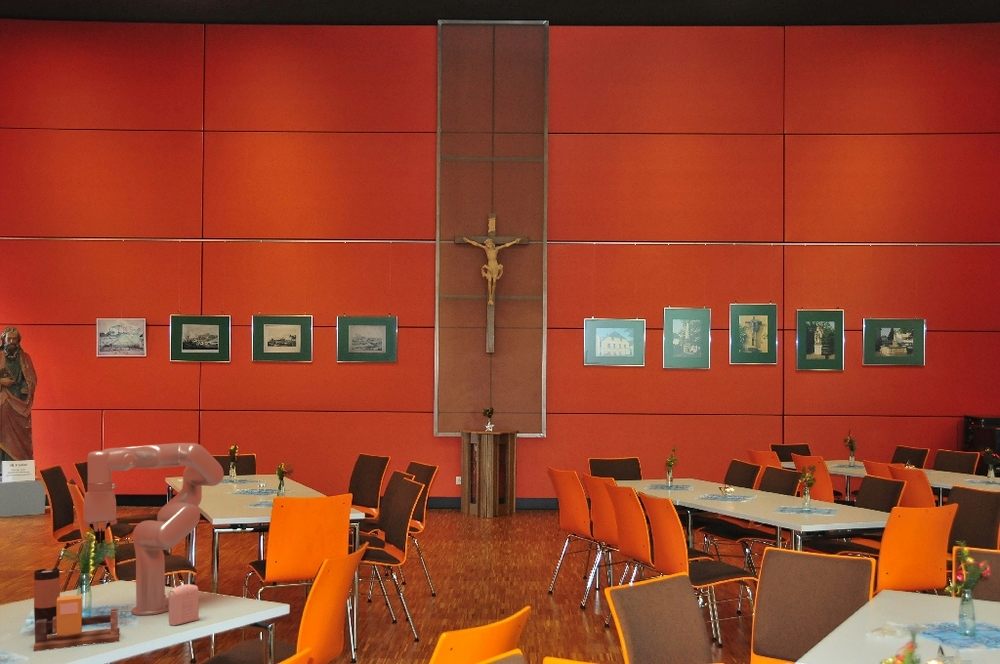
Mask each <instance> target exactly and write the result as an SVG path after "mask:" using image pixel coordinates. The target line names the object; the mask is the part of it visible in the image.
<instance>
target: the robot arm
mask: <svg viewBox="0 0 1000 664" xmlns="http://www.w3.org/2000/svg"><path fill="white" fill-rule="evenodd" d="M175 467H185V468H184V470H183V473H182V487H181V489H180V491H179V492H178V493H177V494H176V495H175V496H174V497H172V498H171V499H170V500H169V501H168V502H166V503H165V505H163V506H162V507H161V508H160V509H159V511H157V512H158V513H157V517H156V518H157V519H156V520H153V519H152V520H151V519H150V520H149V519H148V520H143V521H141V522H139V523H138V524H136V526H135V527H134V529H133V532H132V541H133V547H134V552H135V590H136V591H135V593H136V594H135V597H136V599H135V604H136V605H135V607H133V608H131V614H132V615H135V616H136V615H137V616H150V615H151V616H152V615H158V614H163V613H166V612H169V597H167V595H166V581H165V580H166V579H165V578H166V577H165V576H166V575H165V574H166V572H165V571H166V569H165V568H166V566H165V565H166V563H165V554H164V550H165V551H166V550H171V549H172V548H174V547H176V546H177V545H178V544H179V543H180V542H182V540H183V541H184V539H185V538H186V537H187V536H188V535H189V534H190V533H191V532H192V531H194V529H195V528H196V527H197V526H198V524H199V522H200V519H201V512H200V511H201V510H200V509H199V506H200V505H201V504H200V503H201V501H202V498H203V496H202V494H203V491H202V486H207V487H214V486H218V485H219V484H221V482H222V481H223V479H224V476H225V473H224V469H223V467H222V465H221V464H220V462H218V460H217V459H216V458H215V457H214V456H213V455H212V454H211V453H210V452H209V451H208V450H207V449H206V448H205V447H203V446H202V445H201V444H199V443H197V442H196V443H195V442H174V443H162V444H160V443H159V444H147V445H139V446H126V447H125V446H124V447H123V446H122V447H109V448H104V449H103V450H96V451H95V450H93V451H90V452H89V453H88V454H87V492H85V494H84V498H83V522H82V526H83V527H87V528H90V529H91V530H93V531H94V535H95V538H94V539H95V540H94V541H95V542H97V544H98V545H99V544H103V542H104V541H105V540H106V531H107V529H108V528H109V527H111V526H113V525H114V526H115V525H117V524H118V519H117V500H116V494H115V490H112V489H114V488H117V483H114V482H113V480H112V479H113V476H112V475H113V471H117V472H126V471H129V470H131V469H142V470H143V469H144V470H145V469H146V470H148V469H149V470H150V469H152V470H154V469H164V468H175ZM98 523H102V525H101V528H99V524H98Z"/></svg>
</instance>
